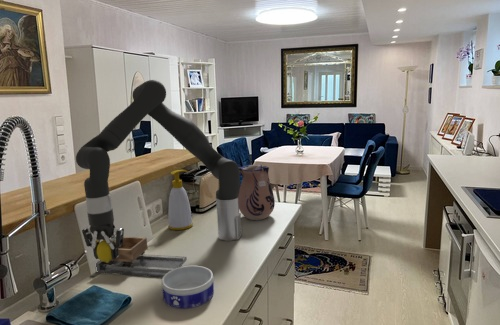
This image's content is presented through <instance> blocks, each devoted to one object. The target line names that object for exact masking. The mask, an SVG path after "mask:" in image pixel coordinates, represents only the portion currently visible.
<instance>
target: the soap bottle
mask: <svg viewBox="0 0 500 325" xmlns="http://www.w3.org/2000/svg"><path fill="white" fill-rule="evenodd" d="M183 172H186V173H190V171H189V170H186V169H177V170H172V171H171V172H170V175H171V176H174V180H172V181H171V182H172V187H171V190H170V192H169V197H168V198H169V199H168V208H167V209H168V211H167V212H168V226H167V227H168V228H169V229H170V230H172V231H173V230H174V231H182V230H184V231H185V230H187V229H190V228H191V227H193V225H194V223H193V218H192V216H193V215H192V211H191V204H190V201H189V197H188V194H187V190H186V189H185V188H184V186H183V181H182V180H183V179H180V173H183Z"/></svg>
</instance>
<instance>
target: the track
mask: <svg viewBox="0 0 500 325" xmlns="http://www.w3.org/2000/svg"><path fill="white" fill-rule="evenodd" d="M99 260H100V259H99ZM99 260H98V261H97V263H96V262H95V263H96V267H97V271H98V273H99V274H110V275H112V274H113V275H125V276H141V277H152V278H163V276H164V275H165V274H166V273H168V272H169V271H171V270H173V269H176V268H179V267H182V265H183V264H185V262H186V261H187V256H177V255H162V254H161V255H159V254H157V255H156V254H145V253H144V254H143V255H140V256H139V257H137V258H136V259H135V260H134V261H133V262H132V265H130V266H127V265H126V264H125V263H126V262H125V261H114V263H113V264H112V265H109V264H108V263H106V262H103V261H101V260H100V261H99ZM96 267H95V268H96Z"/></svg>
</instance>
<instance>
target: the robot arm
mask: <svg viewBox="0 0 500 325" xmlns="http://www.w3.org/2000/svg"><path fill="white" fill-rule="evenodd" d="M166 97H167V89H166V87H165V85H164V84H163V83H162V82H161V81H159V80H157V79H149V80H147V81H144V82H142V83H141V84H139V85H138V86H137V87H135V88H134V89H133V91H132V100H133V101H132V102H131V103H130V104H129V105H128V106H127V107H126V108H125V109H124V110H122V111H121V112H120V113H119V114H118V115H116V116H115V117H114V118H113V119H112V120H110V121H109V123H108V124H107V125H106V126H105V127H104V128H103V129H102V130H101V131H100V132H99V134H98V135H96V136H95V137H93V138H91V139H90V140H89V141H87V142H85V144H83V145H82V146H81V147H80V148H79V149H78V151H77V153H76V155H75V162H76V164H77V165H78V166H79V168H82V169H85V170H89V176H88V177H87V178H86V179H84V182H83V185H84V193H85V206H86V207H85V208H86V212H87V219H88V221H87V222H88V224H89V226H90V227H89V226H86V227H85V228H82V229H81V233H82V236H83V239H84V242H85V245H86V247H88V248H89V247H91V249H92V252H93V256H94V258H95V260H100V259H99V258H98V256H97V246H98V244H99V243H100V242H101V241H103V240H106V242H107V243H108V244H109V245H110V247H111V253H112V259H113V260H115V259H117V258H118V256H119V252H118V247H120V246H121V245H122V244H123V237H125V236H124V234H125V231H124V230H125V229H124V227H120V228H119V227H116V226H115V224H114V221H115V216H114V211H113V203H112V197H111V195H110V188H109V187H110V186H109V178H110V168H111V158H110V156H109V153H108V152H110V151H114V150H116V149H118V148H119V146H120V145H121V144H122V143H124V141H125V139H127V138H128V137H129V135H130V134H131V133H132V131H134V129H135V128H136V127H137V126H138V124H139V123H140V122H141V121H143V119H145V118H146V117H147V115H148V116H149V117H151V118H152V119H153V120H154V121H155V122H157V123H158V124H159V125H161V127H162V128H163V129H165V131H167V132H168V133H169V134H170V135H172V137H173V138H174V139H175V140H176V141H177V142H178V143H179V144H180V145H181V146H182V147H183V148H185V149H186V150H187V151H188V152H189V153H190V154H192V156H194V157H195V158H196V159H198V160H199V161H200V162H201V163H202V164H203V165H204V166H205V168H207V170H208V171H209V172H210V173H211V175H212V176H214V178H215V179H216V180H218V189H217V190H216V192H215V201H216V203H215V204H216V218H217V233H218V234H217V235H218V239H219V240H221V241H227V242H228V241H235V240H239V239H240V237H241V236H242V234H243V233H242V217H241V215H242V213H241V212H240V210H239V199H238V193H239V190H240V186H241V180H240V179H241V176H240V175H241V172H240V171H239V167H240V166H239V164H238V163H237V162H236V161H234V160H231V159H230V158H229V159H228V158H226V157H224V156H223V155H222V154H220V153H219V152H218V151H217V150H215V148H213V146H212V145H211V143H210V142H209V139H208V137H207V136H206V134H205V133H204V132H203V131H202V129H200V128H199V127H198V125H197V124H196V123H195V122H193V121H192V120H191V119H189V118H187V117H185V116H183V115H181V114H180V113H176V112H175V111H173V110H172V109H170V108H169V107H168V106H166V104H165V103H163V102H164V101H165V100H166Z"/></svg>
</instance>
